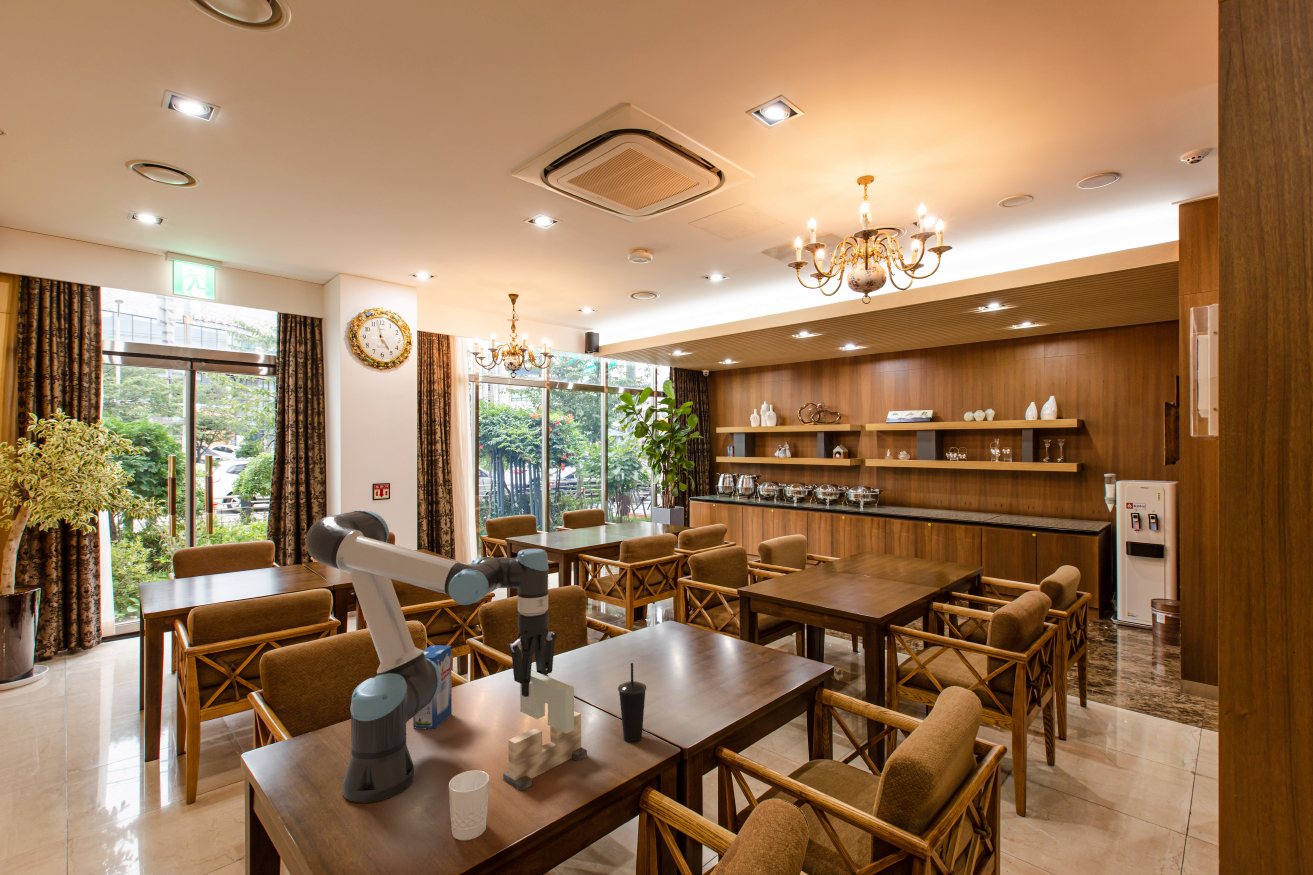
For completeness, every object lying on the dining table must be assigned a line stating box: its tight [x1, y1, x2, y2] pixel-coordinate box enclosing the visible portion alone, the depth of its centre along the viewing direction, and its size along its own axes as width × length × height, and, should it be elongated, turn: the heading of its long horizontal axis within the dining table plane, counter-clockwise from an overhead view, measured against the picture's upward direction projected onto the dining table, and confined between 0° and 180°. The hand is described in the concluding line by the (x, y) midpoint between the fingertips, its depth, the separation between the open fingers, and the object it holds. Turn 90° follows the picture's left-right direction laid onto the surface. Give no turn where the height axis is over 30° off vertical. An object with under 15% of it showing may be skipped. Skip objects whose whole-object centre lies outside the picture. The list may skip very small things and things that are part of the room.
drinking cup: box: [617, 662, 647, 744], centre depth 157 cm, size 8×8×20 cm
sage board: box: [519, 669, 575, 733], centre depth 143 cm, size 18×2×10 cm, turn 48°
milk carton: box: [412, 644, 453, 730], centre depth 169 cm, size 10×6×20 cm, turn 171°
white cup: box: [448, 769, 490, 841], centre depth 120 cm, size 8×8×10 cm
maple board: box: [502, 710, 588, 792], centre depth 143 cm, size 20×7×10 cm, turn 138°
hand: (533, 705), depth 147 cm, fingers closed on sage board, 2 cm apart
